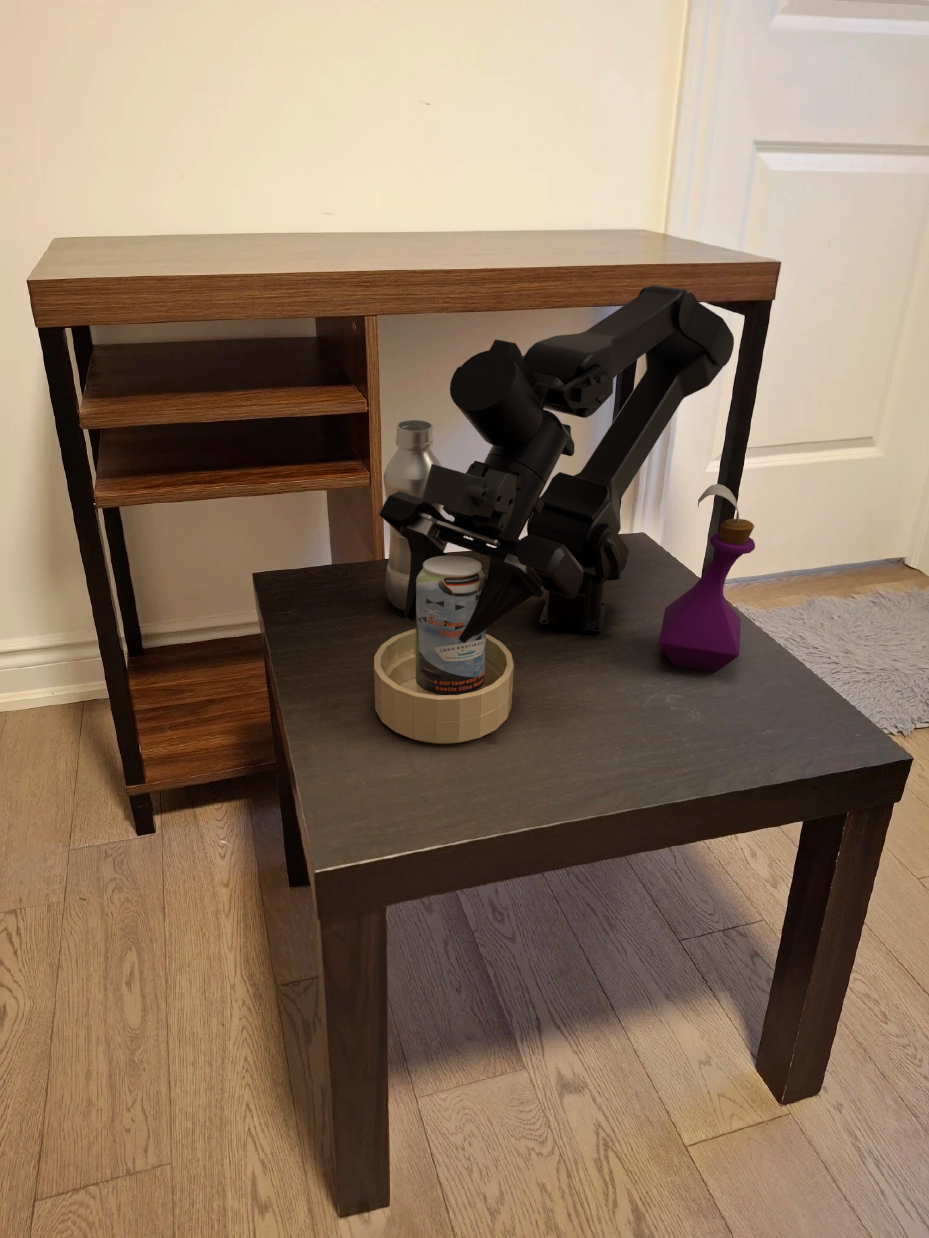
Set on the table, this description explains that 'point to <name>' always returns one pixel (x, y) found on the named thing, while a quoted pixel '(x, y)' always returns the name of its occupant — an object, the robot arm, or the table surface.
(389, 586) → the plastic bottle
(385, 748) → the table surface
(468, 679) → the beverage can
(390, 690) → the bowl
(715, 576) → the purple corked potion flask
